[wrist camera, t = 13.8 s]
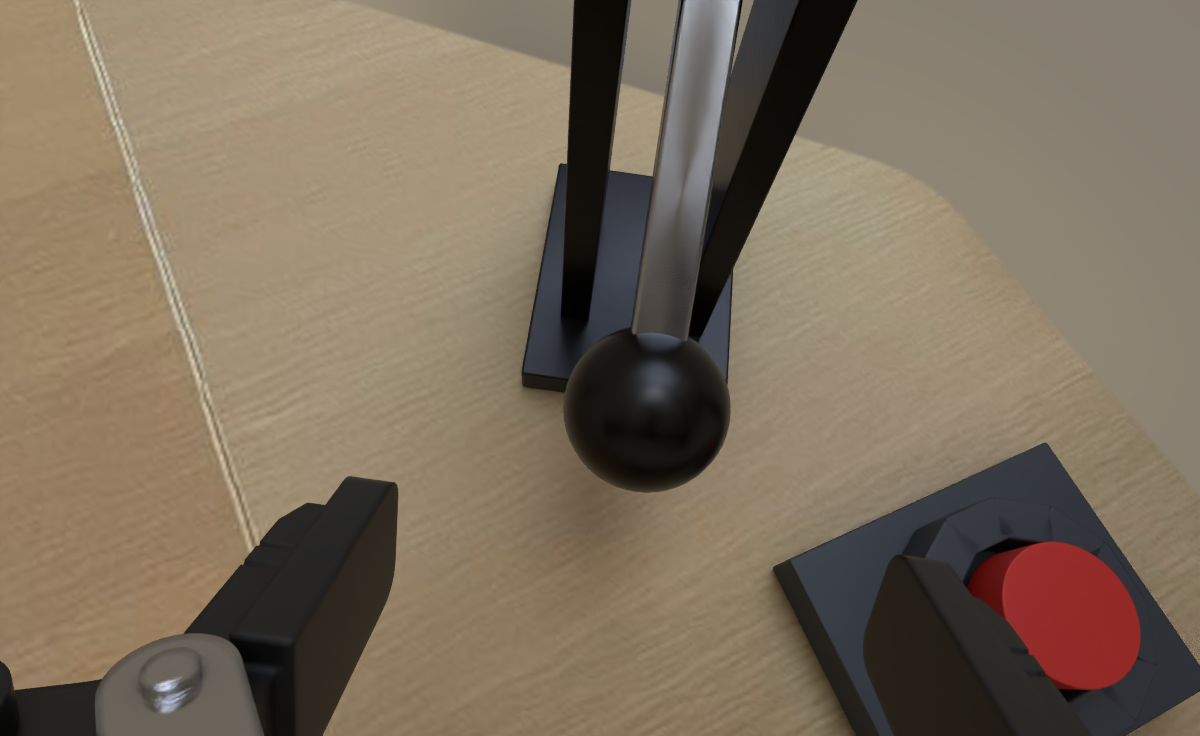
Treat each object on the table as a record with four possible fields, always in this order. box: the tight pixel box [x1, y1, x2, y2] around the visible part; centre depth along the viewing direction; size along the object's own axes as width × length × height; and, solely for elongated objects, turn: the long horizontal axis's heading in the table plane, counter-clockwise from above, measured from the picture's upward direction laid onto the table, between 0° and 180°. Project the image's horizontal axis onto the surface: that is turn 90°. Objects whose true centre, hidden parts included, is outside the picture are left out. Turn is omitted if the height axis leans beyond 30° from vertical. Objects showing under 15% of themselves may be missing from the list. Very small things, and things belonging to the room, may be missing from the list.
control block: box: [773, 443, 1200, 736], centre depth 21 cm, size 10×8×4 cm
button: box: [967, 542, 1140, 690], centre depth 19 cm, size 4×4×2 cm
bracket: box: [521, 0, 858, 392], centre depth 19 cm, size 9×7×17 cm
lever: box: [563, 0, 743, 493], centre depth 13 cm, size 13×3×3 cm
